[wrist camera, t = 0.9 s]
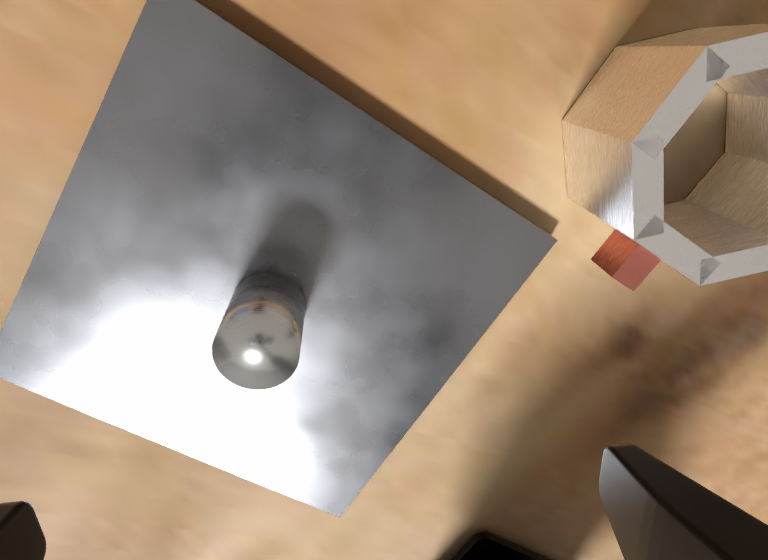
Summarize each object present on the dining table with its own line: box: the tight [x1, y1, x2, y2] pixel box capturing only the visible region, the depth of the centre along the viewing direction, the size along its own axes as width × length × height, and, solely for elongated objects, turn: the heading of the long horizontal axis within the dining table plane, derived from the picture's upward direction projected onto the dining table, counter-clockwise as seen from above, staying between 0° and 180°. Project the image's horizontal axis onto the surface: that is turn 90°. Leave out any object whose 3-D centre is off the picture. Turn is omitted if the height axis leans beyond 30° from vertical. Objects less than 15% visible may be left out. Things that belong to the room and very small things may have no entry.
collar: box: [562, 23, 768, 291], centre depth 18 cm, size 7×8×5 cm
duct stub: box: [0, 0, 557, 517], centre depth 19 cm, size 16×16×4 cm
